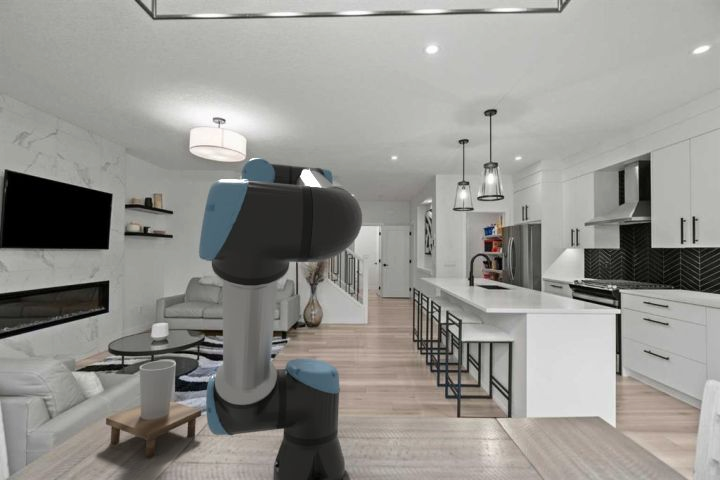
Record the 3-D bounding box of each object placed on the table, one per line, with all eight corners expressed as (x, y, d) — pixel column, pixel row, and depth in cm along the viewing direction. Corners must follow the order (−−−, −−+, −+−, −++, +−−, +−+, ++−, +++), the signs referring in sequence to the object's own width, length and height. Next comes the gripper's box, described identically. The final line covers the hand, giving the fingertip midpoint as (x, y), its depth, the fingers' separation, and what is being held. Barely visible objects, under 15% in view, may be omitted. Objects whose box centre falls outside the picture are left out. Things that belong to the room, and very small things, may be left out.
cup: (156, 423, 84) (159, 371, 85) (128, 418, 86) (131, 368, 86) (180, 409, 92) (182, 362, 92) (153, 405, 93) (156, 359, 94)
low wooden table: (200, 433, 91) (201, 409, 92) (147, 461, 79) (149, 433, 79) (158, 419, 98) (160, 397, 98) (104, 443, 86) (106, 417, 86)
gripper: (273, 224, 110) (271, 293, 109) (208, 215, 87) (204, 302, 86) (293, 224, 106) (291, 295, 105) (231, 214, 84) (227, 304, 83)
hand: (252, 298), depth 96 cm, fingers open, 13 cm apart
